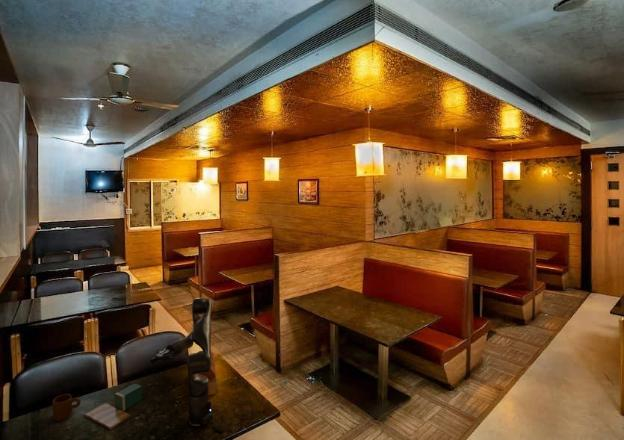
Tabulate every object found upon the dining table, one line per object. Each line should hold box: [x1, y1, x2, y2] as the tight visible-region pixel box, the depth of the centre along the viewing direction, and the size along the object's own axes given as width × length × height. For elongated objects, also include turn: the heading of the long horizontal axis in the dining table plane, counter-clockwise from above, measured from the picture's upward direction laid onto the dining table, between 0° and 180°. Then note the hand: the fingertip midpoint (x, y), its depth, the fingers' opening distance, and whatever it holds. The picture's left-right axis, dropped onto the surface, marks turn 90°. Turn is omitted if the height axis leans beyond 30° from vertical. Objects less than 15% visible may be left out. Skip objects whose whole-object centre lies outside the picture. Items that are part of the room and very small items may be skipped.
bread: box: [196, 350, 218, 396], centre depth 197 cm, size 25×12×15 cm, turn 18°
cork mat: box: [84, 402, 132, 430], centre depth 169 cm, size 20×10×1 cm, turn 63°
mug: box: [51, 393, 82, 422], centre depth 169 cm, size 12×8×9 cm, turn 97°
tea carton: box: [114, 383, 143, 412], centre depth 179 cm, size 6×11×8 cm, turn 153°
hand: (151, 361), depth 190 cm, fingers closed
